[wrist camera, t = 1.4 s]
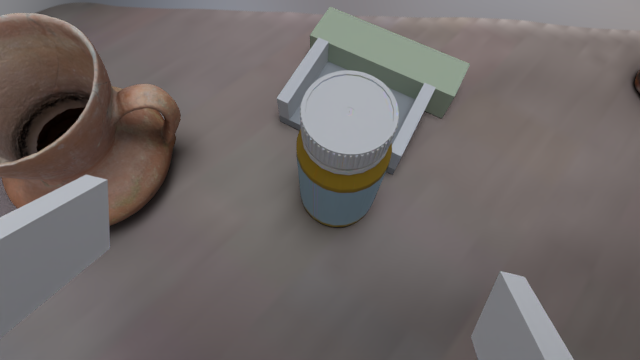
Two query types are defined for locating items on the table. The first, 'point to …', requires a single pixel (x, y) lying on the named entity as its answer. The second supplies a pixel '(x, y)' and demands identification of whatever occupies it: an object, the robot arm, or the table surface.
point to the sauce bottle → (637, 81)
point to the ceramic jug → (76, 118)
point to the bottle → (344, 145)
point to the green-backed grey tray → (376, 72)
